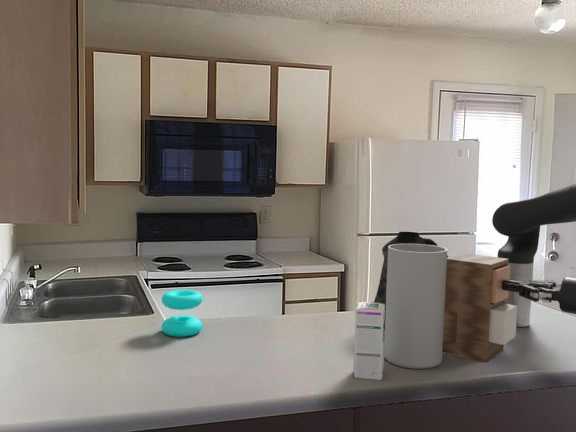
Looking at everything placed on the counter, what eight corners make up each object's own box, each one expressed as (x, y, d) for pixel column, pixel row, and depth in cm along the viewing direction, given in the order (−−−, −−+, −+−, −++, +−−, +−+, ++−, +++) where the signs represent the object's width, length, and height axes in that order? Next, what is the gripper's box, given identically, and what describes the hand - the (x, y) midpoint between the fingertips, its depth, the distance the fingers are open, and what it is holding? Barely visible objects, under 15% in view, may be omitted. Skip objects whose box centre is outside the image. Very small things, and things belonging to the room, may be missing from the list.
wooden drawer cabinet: (503, 351, 136) (508, 258, 134) (485, 362, 128) (491, 264, 126) (458, 340, 143) (463, 253, 141) (439, 351, 135) (443, 258, 133)
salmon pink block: (508, 297, 133) (510, 266, 132) (495, 303, 127) (497, 270, 126) (481, 292, 137) (483, 262, 136) (467, 298, 131) (469, 266, 130)
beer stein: (358, 319, 160) (361, 229, 158) (417, 313, 168) (421, 227, 165) (391, 337, 145) (395, 237, 143) (454, 329, 152) (459, 235, 150)
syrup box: (382, 380, 116) (385, 309, 115) (352, 377, 117) (355, 307, 116) (383, 370, 122) (386, 302, 120) (355, 368, 123) (357, 300, 121)
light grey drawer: (515, 336, 133) (517, 305, 132) (502, 344, 127) (504, 312, 126) (488, 331, 137) (490, 301, 136) (475, 338, 130) (476, 307, 130)
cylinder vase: (451, 368, 124) (457, 252, 121) (395, 371, 122) (400, 252, 119) (427, 349, 136) (432, 243, 133) (376, 351, 134) (380, 243, 131)
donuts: (155, 291, 146) (192, 286, 151) (155, 330, 147) (191, 324, 152) (171, 299, 137) (209, 294, 143) (171, 340, 138) (209, 334, 144)
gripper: (597, 274, 123) (514, 264, 134) (581, 284, 113) (492, 271, 124) (594, 309, 124) (512, 296, 135) (578, 322, 114) (490, 306, 125)
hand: (503, 284), depth 130 cm, fingers closed
